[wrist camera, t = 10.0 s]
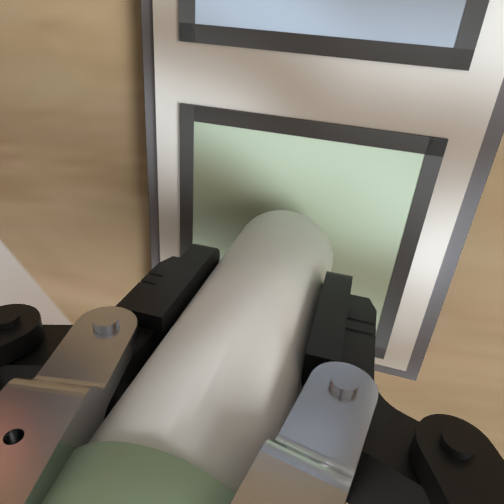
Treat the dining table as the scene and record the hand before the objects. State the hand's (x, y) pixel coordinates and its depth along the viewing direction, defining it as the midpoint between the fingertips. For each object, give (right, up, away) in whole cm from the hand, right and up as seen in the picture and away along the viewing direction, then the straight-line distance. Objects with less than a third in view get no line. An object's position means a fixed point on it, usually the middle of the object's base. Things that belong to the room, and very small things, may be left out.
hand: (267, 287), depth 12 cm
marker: (+1, +1, +2) cm, 2 cm away
